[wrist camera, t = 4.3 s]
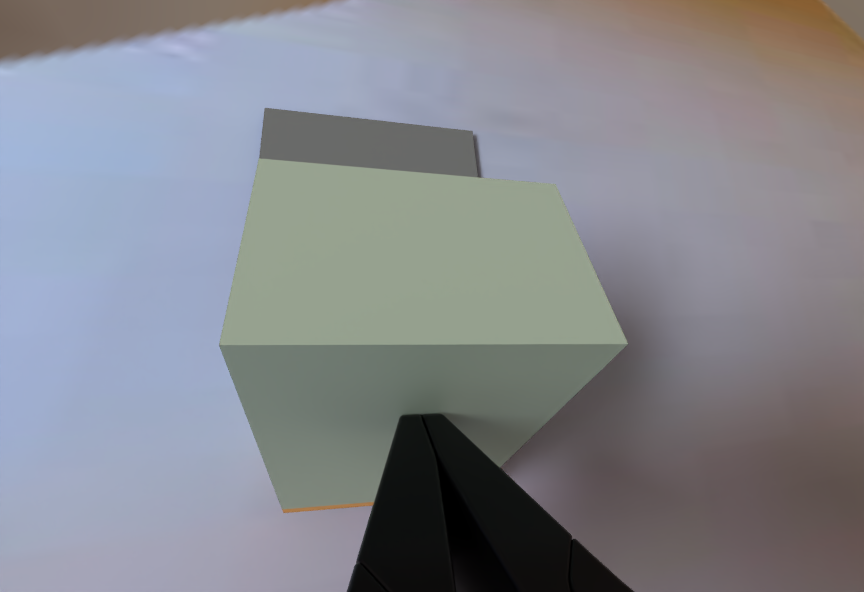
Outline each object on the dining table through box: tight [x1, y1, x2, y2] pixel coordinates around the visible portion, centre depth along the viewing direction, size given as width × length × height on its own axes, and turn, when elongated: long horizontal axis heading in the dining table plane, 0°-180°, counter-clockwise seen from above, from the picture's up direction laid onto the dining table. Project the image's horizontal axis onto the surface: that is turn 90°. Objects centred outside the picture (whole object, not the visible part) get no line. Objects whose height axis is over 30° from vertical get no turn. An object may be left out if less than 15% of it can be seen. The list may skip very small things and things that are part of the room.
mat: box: [259, 108, 478, 177], centre depth 19 cm, size 12×10×1 cm
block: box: [219, 158, 628, 513], centre depth 11 cm, size 4×6×10 cm, turn 93°
